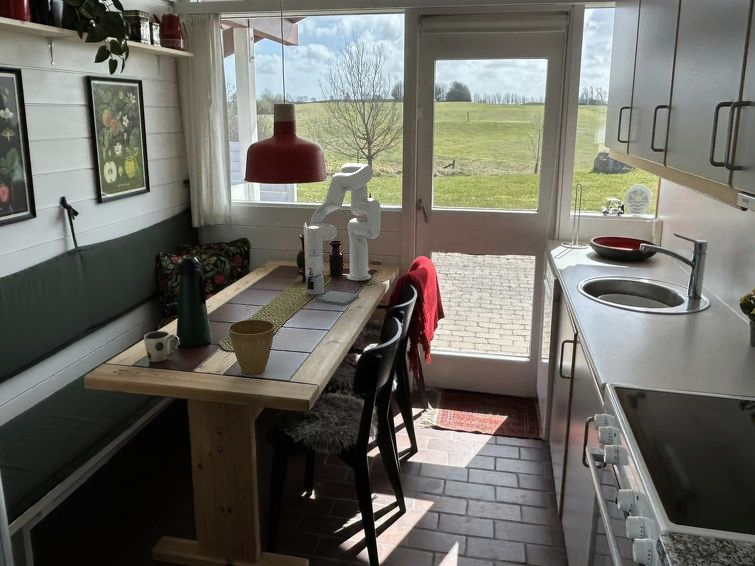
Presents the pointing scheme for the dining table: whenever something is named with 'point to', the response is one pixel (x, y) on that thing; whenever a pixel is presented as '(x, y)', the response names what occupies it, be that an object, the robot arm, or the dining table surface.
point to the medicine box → (316, 285)
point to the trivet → (337, 298)
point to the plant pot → (252, 344)
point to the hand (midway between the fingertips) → (315, 286)
